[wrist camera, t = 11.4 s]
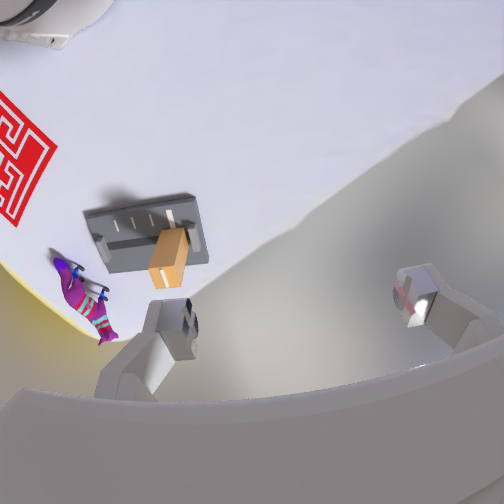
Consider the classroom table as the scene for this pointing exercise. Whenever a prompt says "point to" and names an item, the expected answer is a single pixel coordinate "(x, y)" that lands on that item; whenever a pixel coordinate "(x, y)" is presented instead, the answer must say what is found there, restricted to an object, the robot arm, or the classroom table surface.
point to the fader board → (146, 233)
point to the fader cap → (169, 259)
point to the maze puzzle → (20, 159)
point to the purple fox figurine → (85, 300)
